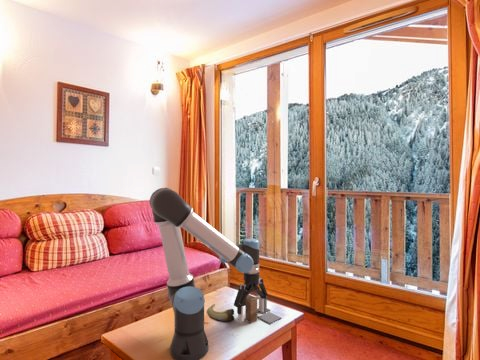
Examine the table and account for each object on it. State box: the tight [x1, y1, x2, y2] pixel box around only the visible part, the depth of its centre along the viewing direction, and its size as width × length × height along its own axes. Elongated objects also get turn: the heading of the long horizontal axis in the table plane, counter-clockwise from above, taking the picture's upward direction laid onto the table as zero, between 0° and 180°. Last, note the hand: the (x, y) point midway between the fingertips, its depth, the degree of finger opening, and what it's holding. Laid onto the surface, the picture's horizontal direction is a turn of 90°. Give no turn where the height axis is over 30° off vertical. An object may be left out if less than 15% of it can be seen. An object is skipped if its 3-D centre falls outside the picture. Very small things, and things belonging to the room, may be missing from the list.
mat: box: [257, 311, 282, 325], centre depth 144 cm, size 8×8×1 cm
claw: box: [206, 303, 235, 322], centre depth 148 cm, size 20×10×3 cm, turn 48°
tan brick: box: [242, 293, 258, 324], centre depth 143 cm, size 8×4×11 cm, turn 42°
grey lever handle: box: [243, 294, 271, 315], centre depth 148 cm, size 18×5×10 cm, turn 132°
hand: (251, 315), depth 142 cm, fingers open, 13 cm apart
